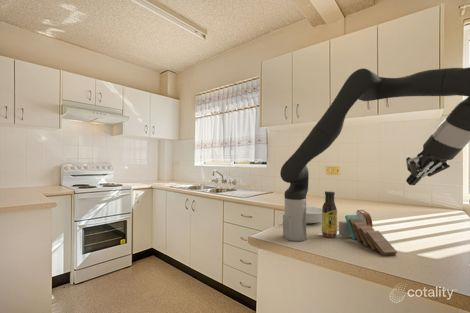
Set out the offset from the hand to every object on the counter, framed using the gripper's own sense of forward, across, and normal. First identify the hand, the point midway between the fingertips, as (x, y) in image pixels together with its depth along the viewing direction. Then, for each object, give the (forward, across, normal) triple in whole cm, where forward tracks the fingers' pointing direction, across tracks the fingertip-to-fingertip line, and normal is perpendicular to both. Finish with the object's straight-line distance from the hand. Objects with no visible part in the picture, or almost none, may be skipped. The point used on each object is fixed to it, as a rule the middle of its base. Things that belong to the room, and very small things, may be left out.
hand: (409, 183), depth 73 cm
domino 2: (+33, -2, +1) cm, 33 cm away
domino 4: (+28, -2, +7) cm, 29 cm away
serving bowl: (+57, +8, -24) cm, 62 cm away
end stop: (+40, -2, -6) cm, 41 cm away
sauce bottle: (+41, +8, -6) cm, 42 cm away
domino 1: (+36, -2, -2) cm, 36 cm away
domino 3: (+30, -2, +4) cm, 31 cm away
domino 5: (+25, -2, +10) cm, 27 cm away
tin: (+46, -15, -14) cm, 50 cm away
